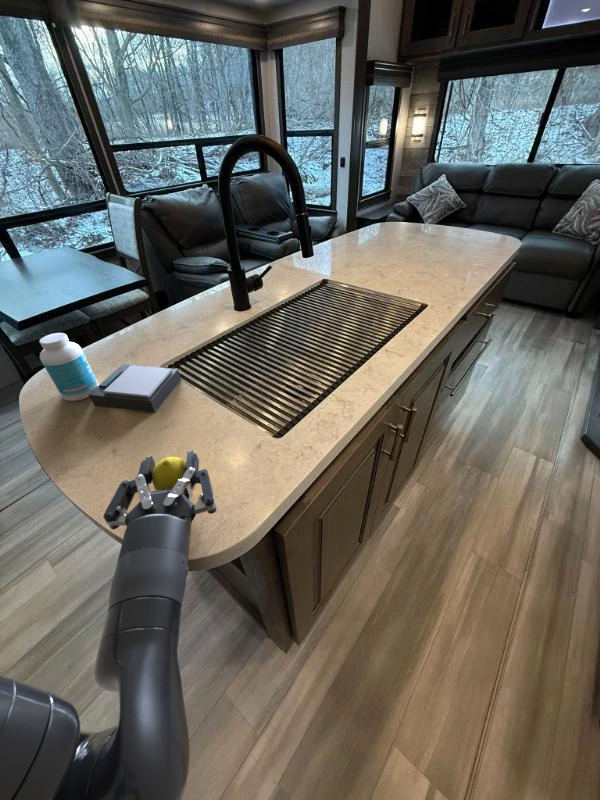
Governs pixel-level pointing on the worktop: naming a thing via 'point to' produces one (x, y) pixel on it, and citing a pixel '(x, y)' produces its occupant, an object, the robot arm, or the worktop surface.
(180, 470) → the lemon
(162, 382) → the scale
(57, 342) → the pill bottle
